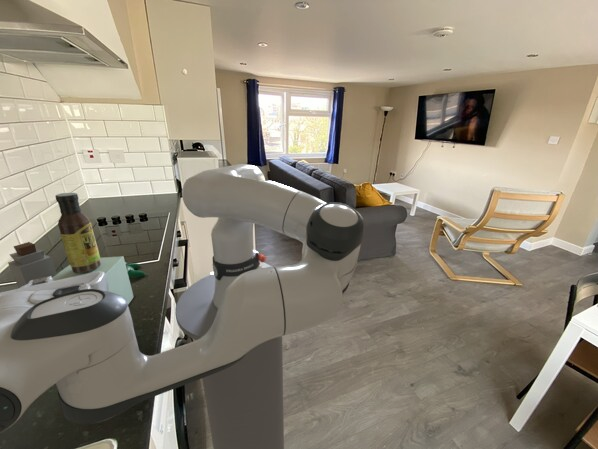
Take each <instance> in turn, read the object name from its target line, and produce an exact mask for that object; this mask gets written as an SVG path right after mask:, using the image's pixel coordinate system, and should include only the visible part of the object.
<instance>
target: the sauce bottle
mask: <svg viewBox="0 0 598 449" xmlns="http://www.w3.org/2000/svg"><path fill="white" fill-rule="evenodd" d="M55 201H56V202H57V203H58V207H59V210H60V211H59V212H60V214H61V215H60V217H59V219H58V221H57V227H58V229H59V234H60V238H61V240H62V244H63V247H64V250H65V254H66V257H67V260H68V263H69V264H68V265H70V266H71V267H72V271H73V272H74V273H84V272H89V271H92V270H94V269H96V268H98V267H99V266H100V265H101V262H100V258H101V256H100V251H99V247H98V245H97V244H98V243H97V240H96V236H95V233H94V230H93V225H92V222H91V221H90V219H89V217H88V216H87V215H86V214H84V212H82V208H81V206H80V202H79V195H78V193H77V192H63V193H62V192H61V193H57V194H56V195H55Z"/></svg>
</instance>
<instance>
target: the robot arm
mask: <svg viewBox="0 0 598 449" xmlns="http://www.w3.org/2000/svg"><path fill="white" fill-rule="evenodd" d="M181 197H182V202H183V204H184V206H185V207H186V209H187V210H188V212H190V213H191V214H192V215H194V216H196V217H198V218H200V219H201V218H202V219H203V218H217V220H216V222H215V223H214V225H213V226H212V229H211V233H210V236H211V245H212V253H213V254H212V258H211V259H212V271H211V272H210V275H212V274H214V276H215V292H214V297H213V303H214V305H215V306H216V307H217V308H218V311H217V314H216V317H215V320H214V322H213V324H212V326H211V328H210V329H209V331H208V332H207V333H206V334H205V335H204V336H202V337H201V338H199V339H198V340H193V341H190V342H187V343H185V344H182V345H179V346H176V347H173V348H170V349H168V350H165V351H162V352H159V353H155V354H152V355H147V354H144V353H143V352H141V350H140V348H139V345H138V340H137V336H136V332H135V326H134V321H133V318H132V314H131V310H130V306H129V304H128V302H127V300H126V299H125V298H124V297H122V296H120V295H118V294H115V293H112V292H109V291H108V290H109V286H108V281H107V277H106V274H105V273H104V272H100V271H98V272H93V273H89V274H84V275H80V276H75V277H70V278H66V279H61V280H56V281H53V279H52V277H51V276H50V277H45V278H41V279H36V280H30V281H29V283H28V284H26V285H24V286H22V287H20V288H18V287H17V288H14V289H10V290H6V291H1V292H0V434H1V433H3V432H5V431H6V430H8V429H9V428H12V426H14V425H15V424H16V423H17V422H18V421H19V420H20V419H21V418H22V416H23V415H24V414H25V412H26V411H27V410H28V409H29V407H30V406H32V404H33V403H34V402H35V401H36V400H37V399H38V398H39V397H40V396H42V395H43V394H44V393H46V392H47V391H48V390H49V389H50V388H52V387H53V386H54V385H55V387H56V389H57V395H58V399H59V404H60V407H61V412H62V416H63V417H64V418H65V419H66V420H67V421H68V422H70V423H73V424H77V425H92V424H98V423H102V422H105V421H108V420H111V419H112V418H114V417H116V416H118V415H121V414H122V413H124V412H125V411H127V410H129V409H131V408H132V407H134V406H137V405H138V404H140V403H142V402H144V401H147V400H149V399H152V398H154V397H157V396H160V395H162V394H164V393H167V392H169V391H172V390H175V389H178V388H180V387H182V386H186V385H188V384H190V383H191V384H192V383H193V382H196V381H199V380H202V378H204V377H207V376H209V375H212V374H214V373H217V372H219V371H222V370H224V369H226V368H228V367H230V366H232V365H234V364H236V363H238V362H239V361H240V360H242V359H243V358H244V356H245V355H246V353H247V352H249V351H250V350H251V349H253V348H254V347H256V346H258V345H260V344H261V343H263V342H265V341H268V340H270V339H273V338H276V337H280V336H282V337H283V336H284V337H285V336H288V335H291V334H296V333H299V332H302V331H305V330H309V329H311V328H314V327H316V326H319V325H321V324H324V323H326V322H329V321H330V320H333V319H334V318H336V316H337V315H338V314H339V312H340V311H341V308H342V305H343V296H344V294H345V293H346V291H347V289H348V288H349V286H350V281H351V279H352V277H353V275H354V273H355V271H356V269H357V266H358V258H359V255H360V251H361V246H362V243H363V241H364V238H365V231H366V230H365V228H366V227H365V220H364V217H363V215H361V213H360V212H359V211H357V210H356V209H355V208H353V207H352V206H350V205H348V204H346V203H342V202H326V201H324V200H323V199H320V198H318V197H316V196H314V195H311V194H309V193H307V192H304V191H302V190H298V189H296V188H294V187H290V186H287V185H284V184H283V183H279V182H276V181H272V180H266V178H265V175H264V173H263V172H262V171H261V169H260V168H259V167H258V166H255V165H252V164H247V163H246V164H245V163H237V164H231V165H227V166H222V167H221V166H220V167H216V168H211V169H206V170H202V171H200V172H198V173H196V174H194V175H192V176H191V177H188V178H187V179H186V180H185V181H184V182H183V184H182V188H181ZM254 224H255V225H258V226H261V227H265V228H267V229H270V230H272V231H274V232H277V233H279V234H281V235H284V236H286V237H289V238H292V239H294V240H297V241H299V242H300V243H302V249H301V260H299V261H297V262H295V263H291V264H284V265H276V266H275V265H272V264H268V263H266V261H267V257H266V256H265V255H264V254H263V253H260V252H259V251H258V250H256V249H254Z"/></svg>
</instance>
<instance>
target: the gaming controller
mask: <svg viewBox="0 0 598 449" xmlns="http://www.w3.org/2000/svg"><path fill="white" fill-rule="evenodd" d="M125 264H126V268H127V272H128V276H129V278H142V277H145V276H146V272H145V271H143V270H139V269H140V268H141V264H139V263H135V262H134V263H132V262H131V263H128V262H125Z"/></svg>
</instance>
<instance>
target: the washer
mask: <svg viewBox="0 0 598 449" xmlns="http://www.w3.org/2000/svg"><path fill="white" fill-rule="evenodd" d="M100 262H101V265H100V266H99V267H98V268H96V269H94V270H92V271H89V272H84V273H74V272H73V271H72V267H71V266H70V264H68V265H67V266H66V267H65V268H63V269H62V270H61V271H59V272H57V275H55V276H54V277H53V278H52V279H53V281H56V280H61V279H66V278H70V277H75V276H80V275H84V274H89V273H93V272H98V271H100V272H104V273H105V274H106V277H107V281H108V286H109V290H108V291H109V292H112V293H115V294H118V295H120V296H122V297H124V298H125V299H126V300H127V302H128V305H130V303H131V301H132V300H133V298H134V293H133V289H132V288H133V287H132V285H131V281H130V277H129V276H128V272H127V268H126V264H125V263H126V261H125V257H124V255H123V256H122V255H121V256H108V257H100Z"/></svg>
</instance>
